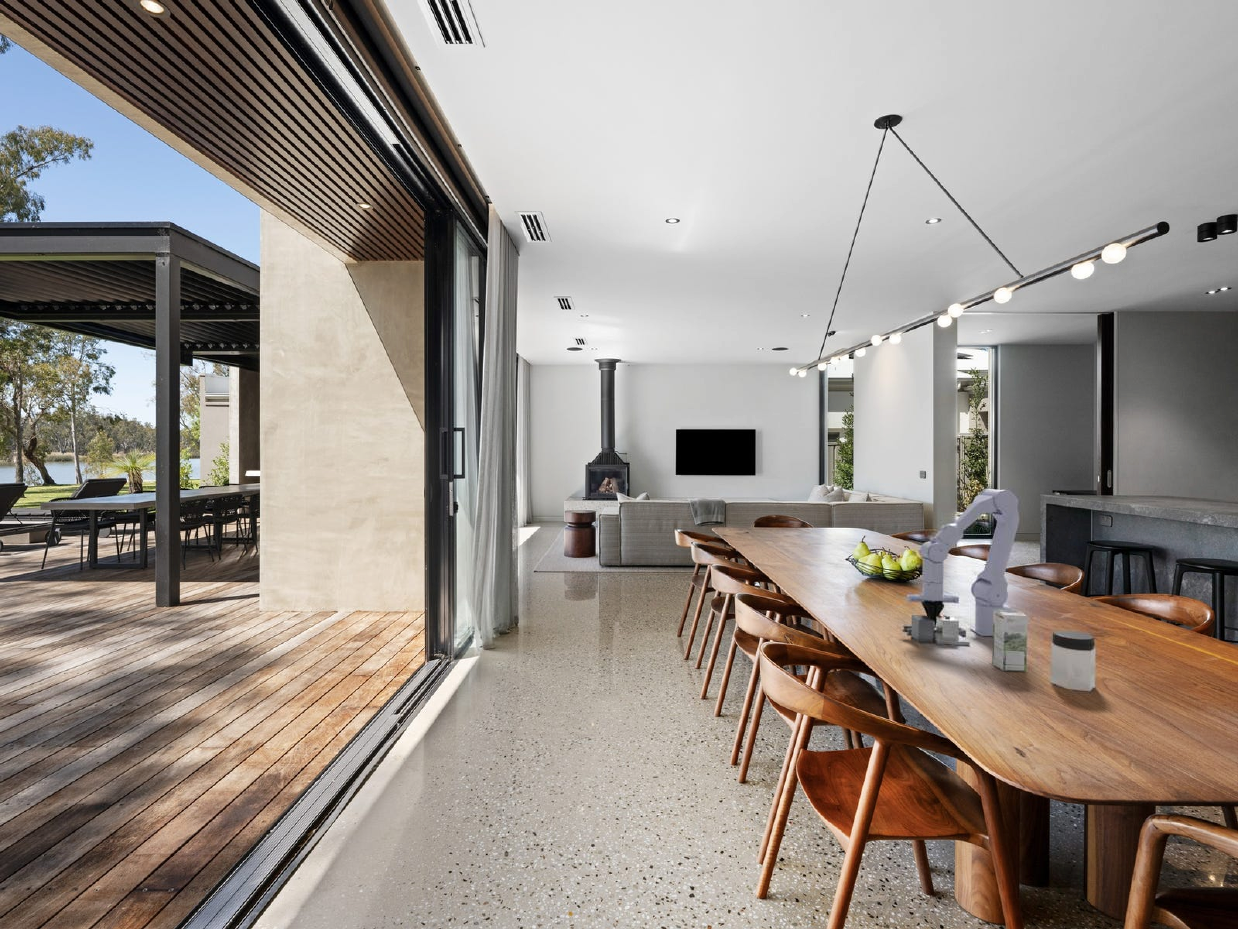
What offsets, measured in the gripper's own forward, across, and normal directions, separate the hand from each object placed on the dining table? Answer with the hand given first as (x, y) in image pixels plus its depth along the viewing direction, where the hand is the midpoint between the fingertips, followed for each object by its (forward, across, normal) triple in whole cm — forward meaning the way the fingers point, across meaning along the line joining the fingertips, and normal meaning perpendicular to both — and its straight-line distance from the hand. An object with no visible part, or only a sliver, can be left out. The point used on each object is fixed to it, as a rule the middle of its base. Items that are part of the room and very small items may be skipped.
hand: (932, 625), depth 197 cm
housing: (+1, -1, +8) cm, 8 cm away
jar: (+2, -16, +43) cm, 46 cm away
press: (+2, -1, +5) cm, 6 cm away
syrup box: (+2, -7, +32) cm, 33 cm away
